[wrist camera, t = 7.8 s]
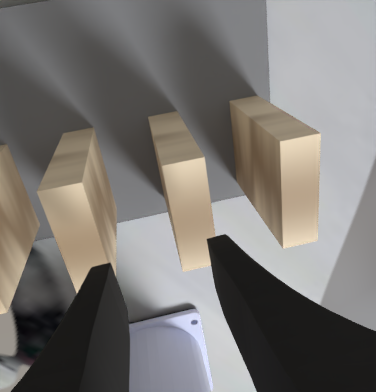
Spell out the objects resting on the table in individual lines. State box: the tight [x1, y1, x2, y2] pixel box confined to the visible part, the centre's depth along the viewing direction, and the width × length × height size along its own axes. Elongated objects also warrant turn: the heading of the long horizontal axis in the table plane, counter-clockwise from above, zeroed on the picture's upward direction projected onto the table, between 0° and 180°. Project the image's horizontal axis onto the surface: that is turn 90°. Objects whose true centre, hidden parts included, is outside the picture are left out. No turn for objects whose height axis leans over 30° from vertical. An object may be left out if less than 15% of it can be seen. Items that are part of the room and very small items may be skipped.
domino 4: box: [229, 95, 321, 249], centre depth 18 cm, size 5×2×7 cm, turn 9°
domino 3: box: [148, 111, 215, 272], centre depth 17 cm, size 5×2×7 cm, turn 9°
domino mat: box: [0, 0, 270, 241], centre depth 19 cm, size 12×22×1 cm, turn 99°
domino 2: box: [37, 127, 117, 293], centre depth 17 cm, size 5×2×7 cm, turn 9°
